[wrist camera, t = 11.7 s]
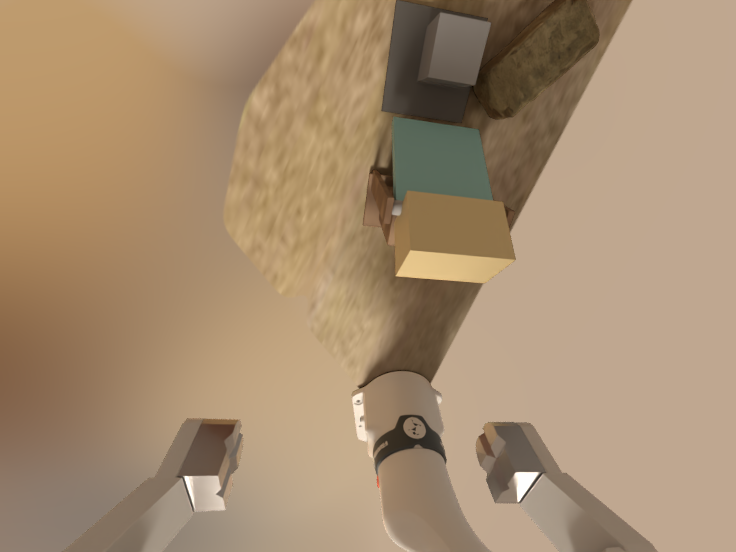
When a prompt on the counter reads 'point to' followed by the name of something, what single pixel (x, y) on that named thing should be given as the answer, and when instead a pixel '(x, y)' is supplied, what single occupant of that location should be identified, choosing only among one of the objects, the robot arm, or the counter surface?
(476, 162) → the trapdoor
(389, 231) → the trapdoor frame
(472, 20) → the stone cube
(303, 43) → the counter surface
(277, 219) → the counter surface
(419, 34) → the rubber mat
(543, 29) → the stone block
